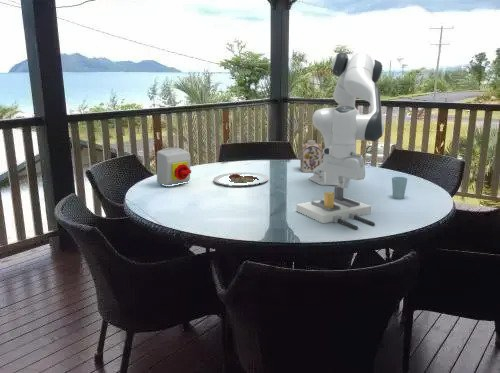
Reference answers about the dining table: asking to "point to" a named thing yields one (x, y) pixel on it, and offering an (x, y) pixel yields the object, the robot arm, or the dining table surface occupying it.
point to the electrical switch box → (173, 166)
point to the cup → (399, 187)
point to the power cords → (352, 216)
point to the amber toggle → (329, 199)
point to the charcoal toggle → (338, 193)
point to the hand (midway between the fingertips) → (342, 187)
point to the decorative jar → (310, 156)
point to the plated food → (241, 178)
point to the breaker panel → (332, 209)
